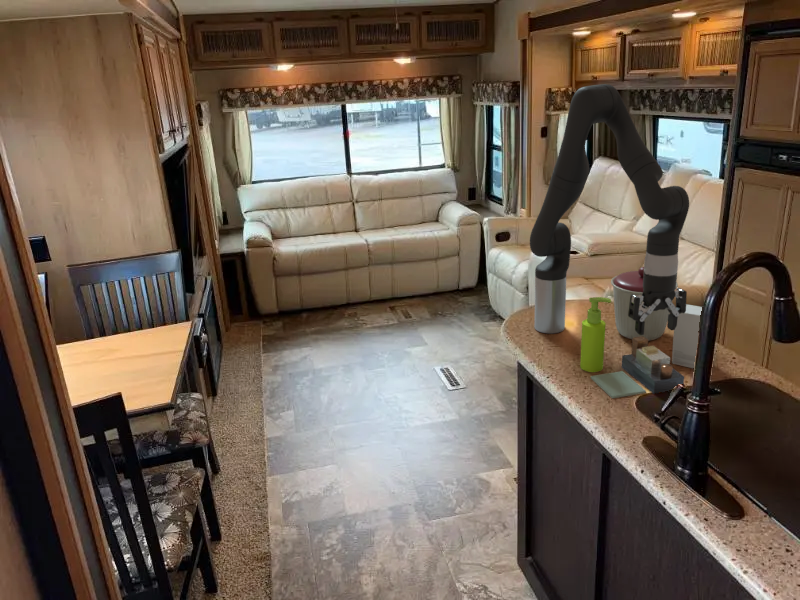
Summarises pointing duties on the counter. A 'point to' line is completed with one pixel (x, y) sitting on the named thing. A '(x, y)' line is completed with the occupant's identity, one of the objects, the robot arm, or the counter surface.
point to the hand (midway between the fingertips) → (655, 331)
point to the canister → (655, 321)
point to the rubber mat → (617, 384)
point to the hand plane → (650, 380)
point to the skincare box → (686, 337)
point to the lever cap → (651, 358)
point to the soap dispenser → (593, 338)
